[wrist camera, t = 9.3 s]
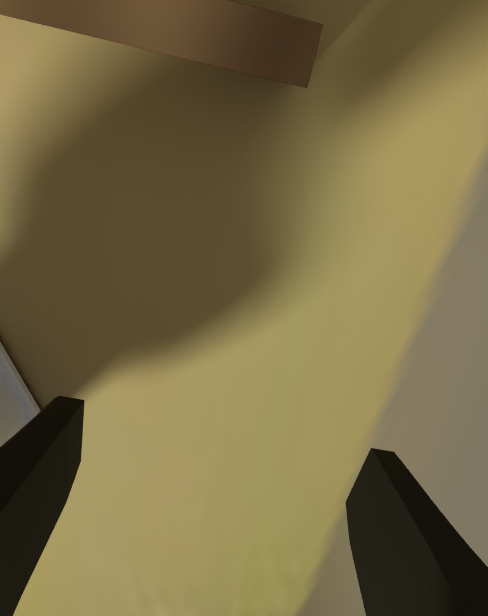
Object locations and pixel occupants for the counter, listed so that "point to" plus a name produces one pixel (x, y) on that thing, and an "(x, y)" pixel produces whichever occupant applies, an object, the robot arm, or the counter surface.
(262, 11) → the walnut screen
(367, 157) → the counter surface
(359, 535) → the robot arm
